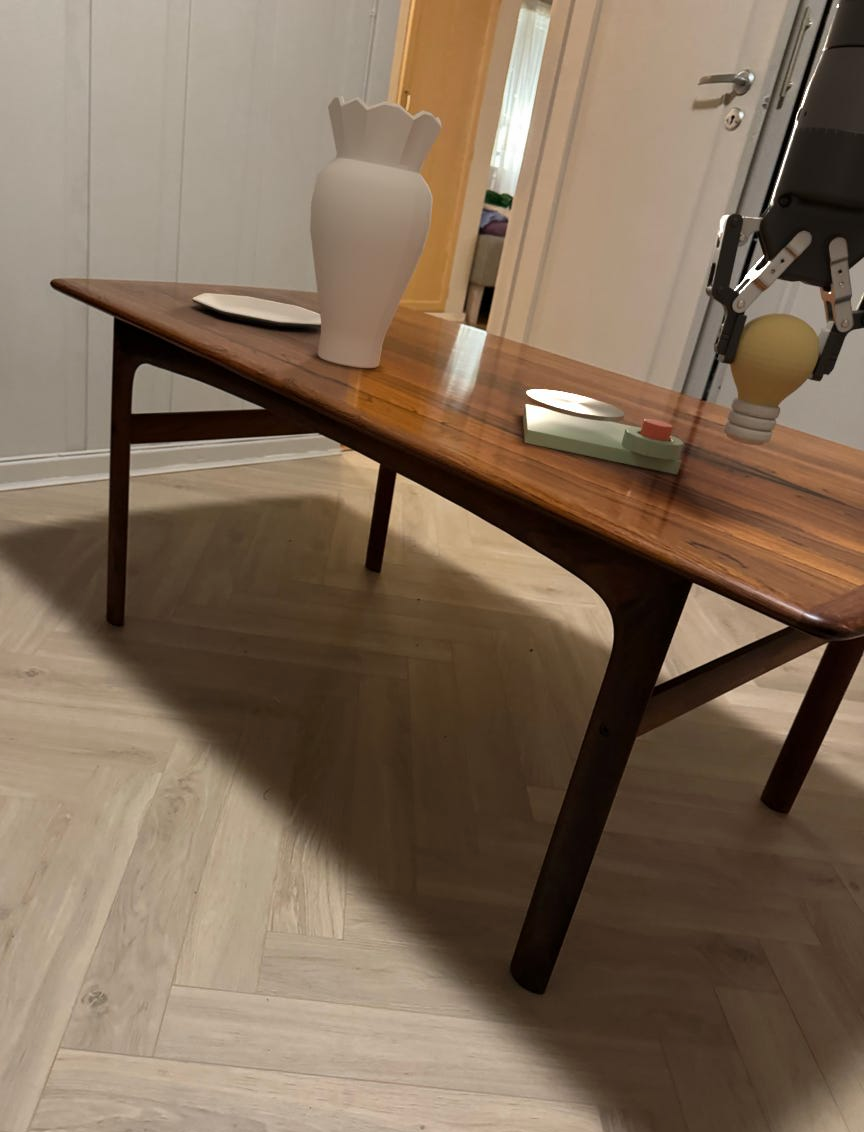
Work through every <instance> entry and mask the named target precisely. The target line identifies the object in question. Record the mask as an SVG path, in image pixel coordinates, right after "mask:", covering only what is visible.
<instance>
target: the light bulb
mask: <svg viewBox="0 0 864 1132" xmlns="http://www.w3.org/2000/svg"><path fill="white" fill-rule="evenodd" d="M818 336H819V335H818V334H817V332H816V331H815V330H814V328H813V327H812V326H811V325H810V324H809V323H807V322H806V321H805V320H803V319H801V318H799V317H797V316H795V315H792V314H787V313H778V312H777V313H768V314H763V315H760V316H757V317H755V318H753V319H751V320H750V321H748V322H746V323H745V325H744V328H743V331H742V334H741V337H740V341H739V344H738V347H737V350H736V353H735V356H734V359H733V362H732V363H731V364H729V365H730V366H729V367H730V373H731V375H732V376H731V377H732V379H733V382H734V385H735V388H736V391H737V396H736V397H734V398H733V400H732V402H731V405H730V406H731V409H730V410H729V411H728V414H727V421H725V423H724V426H723V432H724V433H725V434H726V437H727V438H729V439H730V440H732V441H735V442H737V443H740V444H744V445H750V446H762V445H764V444H765V443H768V442H770V441H771V438H772V436H773V430H774V429H775V428H776V425H777V418H778V417H780V414H781V407H780V404H781V403H782V402H784V400H785V399H787V398H788V397H789V396H790V395H792V394H793V393H794V392H796V391H797V390H798V389H800V387H802V386H803V385H804V384H805V383H806V381H807V380H809V379H808V378H809V376H810V375H811V373H812V372H813V370H814V368H815V366H816V363H817V360H818V356H819V340H818Z"/></svg>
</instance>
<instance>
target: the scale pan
mask: <svg viewBox="0 0 864 1132" xmlns="http://www.w3.org/2000/svg"><path fill="white" fill-rule="evenodd" d="M525 399H526V400H527V401H529V402H530V403H532V404H534V405H535V406H538V407H543V408H546V409H549V410H552V411H555V412H559V413H562V414H566V415H570V416H575V417H579V418H585V419H590V420H598V421H610V422H620V421H623V420H624V418H625V415H626V414H625V412H624V411H623V410H622V409H621V408H618V407H617V406H615V405H612V404H610V403H607V402H604V401H601V400H598V399H594V398H591V397H588V396H583V395H579V394H575V393H569V392H566V391H565V392H564V391H558V390H551V389H550V390H549V389H529V390H527V391H526V393H525Z"/></svg>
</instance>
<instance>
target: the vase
mask: <svg viewBox="0 0 864 1132" xmlns="http://www.w3.org/2000/svg"><path fill="white" fill-rule="evenodd" d="M327 110H328V114H329V119H330V120H329V121H330V124H331V129H332V135H333V140H334V146H335V151H336V156H335V158H333V159H332V160H331V161H329V162H328V163H327V164H325V165H324V166H323V167H322V169H321V170H320V171H319V173H318V174H317V175H316V179H315V183H314V188H313V192H312V198H311V203H310V205H311V206H310V225H309V227H310V229H309V232H310V240H311V249H312V256H313V266H314V275H315V283H316V291H317V299H318V307H319V314H320V318H321V327H320V336H319V342H318V343H319V344H318V349H317V350H318V351H317V356H318V357H319V358H320V359H321V360H323V361H325V362H328V363H332V364H335V365H339V366H344V367H349V368H356V369H357V368H358V369H377V368H378V367H379V366H380V360H381V356H382V355H381V354H382V349H383V343H384V341H385V338H386V334H387V331H388V330H389V327H390V326H391V324H392V321H393V319H394V316H395V314H396V312H397V310H398V308H399V306H400V303H401V302H402V299H403V297H404V295H405V293H406V290H407V289H408V286H409V284H410V282H411V279H412V277H413V275H414V273H415V271H416V269H417V266H418V265H419V262H420V259H421V258H422V255H423V253H424V250H425V246H426V242H427V240H428V236H429V232H430V228H431V222H432V213H433V212H432V211H433V202H434V201H433V200H434V198H433V195H432V192H431V189H430V186H429V184H428V183H427V181H426V180H425V179H424V176H422V174H421V173H422V169H423V166H424V163H425V161H426V159H427V157H428V155H429V153H430V151H431V150H432V148H433V146H434V144H435V142H436V141H437V138H438V137H439V135H440V133H441V131H442V129H443V127H442V121H441V118H440V117H439V116H436V117H435V116H434V114H433V113H432V112H430V111H427V110H423V109H422V110H420V111H419V112H418V113H416V114H414V115H413V114H411V113H410V112H409V111H407V110H406V109H405V107H403V106H402V105H401V104H399V103H394V102H391V101H385V100H383V101H381V102H378V103H376V104H372V105H369V106H368V105H367V104H366V103H365V101H364V100H363V99H361V97H360V96H357V97H354V98H352V99H349V100H347V101H345V98H344V96H343V95H342V94H337V95H335V96H334V97H333V98H332V100H331V102H330V103H329V104H328V105H327Z"/></svg>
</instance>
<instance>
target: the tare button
mask: <svg viewBox="0 0 864 1132" xmlns="http://www.w3.org/2000/svg"><path fill="white" fill-rule="evenodd" d="M641 428H642V429H641V432H640V435H642V436H644V437H648V438H651V439H655V440H660V441H668V442H669V439H670V435H671V436H672V432H673V428H674V426H673V425H672V424H671V423H668V422H665V421H662V420H660V419H654V418H645V419H644V420H643V422H642V426H641Z"/></svg>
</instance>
